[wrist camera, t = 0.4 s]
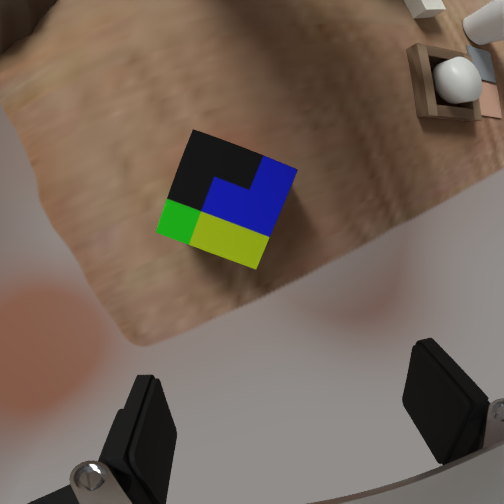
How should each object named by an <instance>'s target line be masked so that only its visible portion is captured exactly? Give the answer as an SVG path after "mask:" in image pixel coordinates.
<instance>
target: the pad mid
mask: <svg viewBox="0 0 504 504" xmlns="http://www.w3.org/2000/svg"><path fill="white" fill-rule="evenodd" d="M466 47H467V52H468V54H469V55H471V58H472V62H473V65H474V66H475V67H476V68H477V70H478V72H479V74H480V76H481V80H485V81H489V82H493V83H496V78H495V73H494V68H493V63H492V59H491V54H490V52H489V51H485V50H482V49H479V48H475V47H472V46H468V45H466Z"/></svg>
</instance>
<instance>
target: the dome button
mask: <svg viewBox="0 0 504 504" xmlns="http://www.w3.org/2000/svg"><path fill="white" fill-rule="evenodd" d="M432 79H433V84H434V87H435V89H436V91H437V93H438V94H439V96H440V97H441V98H442V99H443V100H445V101H446V102H448V103H451V104H458V103H463V102H469V101H475V100H477V99H478V98H479V97H480V95H481V93H482V80H481V76H480V74H479V72H478V70H477V68H476V67H475V66H474V65H473V63H472V62H470V61H469V60H468V59H466V58H464V57H455V58H453V59H450V60H447V61H445V62H442V63H440V64H438V65H436V66H435V68H434V70H433V74H432Z"/></svg>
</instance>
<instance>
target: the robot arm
mask: <svg viewBox="0 0 504 504" xmlns="http://www.w3.org/2000/svg"><path fill="white" fill-rule="evenodd" d="M402 402H403V405H404V407H405V409H406V411H407V412H408V414H409V415H410V417H411V419H412V420H413V422H414V424H415V425H416V427H417V428H418V430H419V432H420V434H421V435H422V437H423V438H424V440H425V442H426V444H427V445H428V447H429V449H430V450H431V452H432V454H433V455H434V457H435V459H436V461H437V462H438V463H439V464H443V466H440V467H438V468H435V469H433V470H430V471H428V472H425V473H422V474H419V475H417V476H414V477H411V478H408V479H405V480H402V481H399V482H396V483H393V484H389V485H386V486H383V487H379V488H376V489H372V490H368V491H364V492H361V493H357V494H352V495H348V496H344V497H340V498H335V499H330V500H325V501H320V502H314V503H308V504H504V398H501V399H497V400H495V401H493V402H492V403H490V402H489V401H488V397H487V396H486V395H485V393H484V392H483V391H482V390H481V389H480V388H479V387H478V386H477V385H476V384H475V382H473V380H472V379H471V378H470V377H469V376H468V375H467V374H466V373H465V372H464V371H463V370H462V369H461V368H460V366H458V364H457V363H456V362H455V361H454V360H453V359H452V358H451V357H450V356H449V355H448V354H447V353H446V352H445V351H444V350H443V349H442V348H441V347H440V346H439V345H438V344H437V343H436V342H435V341H434V340H433V339H432V338H427V339H423V340H419V341H417V342H416V345H414V346H413V348H412V352H411V358H410V363H409V369H408V374H407V379H406V383H405V388H404V393H403V398H402ZM176 439H177V431H176V427H175V424H174V421H173V419H172V416H171V413H170V410H169V407H168V404H167V401H166V398H165V395H164V392H163V388H162V386H161V382H160V380H159V379H155V377H154V376H153V375H137V377H136V379H135V382H134V384H133V387H132V389H131V391H130V394H129V396H128V399H127V401H126V404H125V407H124V409H120V410H119V411H118V412H117V414H116V417H115V419H114V421H113V424H112V426H111V429H110V431H109V434H108V437H107V439H106V442H105V444H104V447H103V449H102V452H101V455H100V457H99V460H98V461H86V462H82V463H80V464H79V465H77V466H76V467H75V468H74V469H73V470H72V472H71V474H70V479H69V480H70V485H67V486H65V487H63V488H61V489H59V490H57V491H55V492H52V493H50V494H48V495H46V496H44V497H41V498H39V499H36V500H34V501H32V502H30V503H28V504H166V498H167V492H168V486H169V480H170V474H171V468H172V462H173V456H174V450H175V445H176Z"/></svg>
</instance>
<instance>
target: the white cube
mask: <svg viewBox="0 0 504 504" xmlns="http://www.w3.org/2000/svg"><path fill="white" fill-rule="evenodd" d="M404 2H405V4H406V6H407V8H408V9H409V11H410V13H411V15H412V17H413V19H414V18H430V17H434V16H436V15H437V14H439V13H440V12H442V11H444V10H445V9H446V8H445V6H444V4H443V3H442V1H441V0H404Z"/></svg>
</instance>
